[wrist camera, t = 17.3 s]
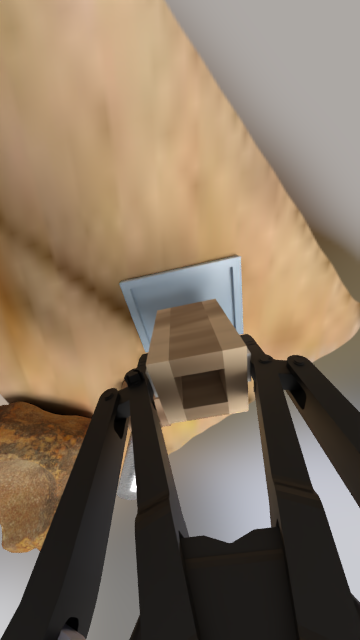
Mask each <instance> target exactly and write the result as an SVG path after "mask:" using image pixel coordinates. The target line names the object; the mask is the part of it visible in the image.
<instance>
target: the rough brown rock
mask: <svg viewBox="0 0 360 640" xmlns="http://www.w3.org/2000/svg"><path fill="white" fill-rule="evenodd" d="M90 421H91V418H85V417H82V416H63V415H58V414H53V413H50V412H47V411H44V410H42V409H40V408H39V407H37V406H34V405H32V404H29V403H26V402H21V401H18V402H14V403H11V404H9V405H2V406H0V524H1V527H2V547H3V548H4V549H5V550H7V551H9V552H12V553H22V552H28V551H30V550H32V549H34V548H37V549H38V550H39V551H41V548H42V545H43V543H44V540H45V538H46V535H47V532H48V530H49V527H50V525H51V522H52V520H53V517H54V514H55V512H56V509H57V507H58V504H59V501H60V499H61V496H62V494H63V491H64V489H65V486H66V483H67V481H68V478H69V476H70V473H71V471H72V468H73V465H74V463H75V460H76V458H77V455H78V452H79V450H80V447H81V445H82V442H83V440H84V437H85V434H86V432H87V429H88V427H89V424H90Z"/></svg>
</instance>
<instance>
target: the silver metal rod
mask: <svg viewBox="0 0 360 640" xmlns="http://www.w3.org/2000/svg"><path fill="white" fill-rule="evenodd" d="M117 496H119V497H120V498H122V499H126V500H137V493H136V480H135V468H134V455H133V442H132V430H131V434H130V439H129V443H128V447H127V452H126V456H125V460H124V465H123V469H122V474H121V478H120V482H119V487H118V491H117Z"/></svg>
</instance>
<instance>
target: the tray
mask: <svg viewBox="0 0 360 640" xmlns="http://www.w3.org/2000/svg"><path fill="white" fill-rule="evenodd" d="M119 285H120V287H121V290H122V292H123V295H124V298H125V300H126V303H127V305H128V308H129V311H130V313H131V316H132V318H133V321H134V324H135V326H136V329H137V331H138V334H139V337H140V339H141V342H142V344H143V347H144V350H145V352H149V347H150V342H151V338H152V333H153V328H154V324H155V319H156V314H157V310H162V309H167V308H172V307H177V306H182V305H187V304H191V303H196V302H201V301H206V300H211V299H216V300H217V302H218V303H219V305H220V306H221V308H222V309H223V311H224V312H225V314H226V315H227V317H228V319H229V320H230V322H231V323H232V325H233V326H234V328H235V329H236V331H237V332H238V334H243V309H242V280H241V256H238V255H236V256H232V257H227V258H223V259H218V260H214V261H209V262H205V263H200V264H196V265H191V266H186V267H182V268H177V269H173V270H168V271H164V272H159V273H155V274H150V275H146V276H141V277H137V278H132V279H128V280H123V281H121V282H120V283H119Z"/></svg>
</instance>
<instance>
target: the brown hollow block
mask: <svg viewBox="0 0 360 640" xmlns="http://www.w3.org/2000/svg"><path fill="white" fill-rule="evenodd" d="M126 387H128V385H127V383H126V381H124V382H123V386H122V389H124V388H126ZM122 389H121V390H122ZM153 399H154V401H155V405H156V409H157V413H158V417H159V421H160V425H161V427H165V426H171V424H169V422H168V420H167V417H166V415H165V412H164V410H163V407H162V405H161V402H160V400H159V397H155V395H154V396H153ZM128 428H129V429H130V431H131V417H130V418H129V424H128Z"/></svg>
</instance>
